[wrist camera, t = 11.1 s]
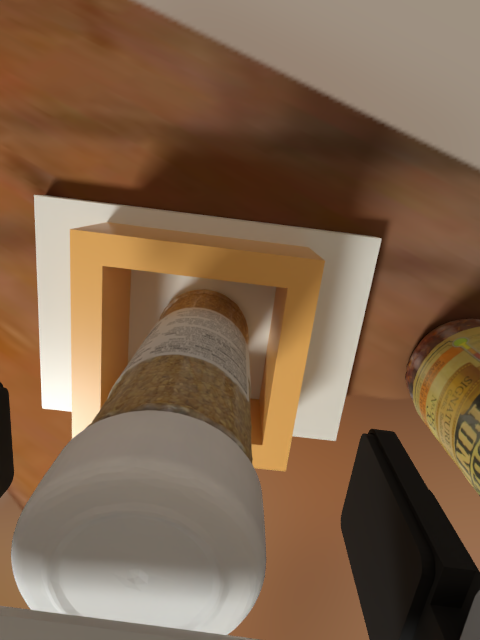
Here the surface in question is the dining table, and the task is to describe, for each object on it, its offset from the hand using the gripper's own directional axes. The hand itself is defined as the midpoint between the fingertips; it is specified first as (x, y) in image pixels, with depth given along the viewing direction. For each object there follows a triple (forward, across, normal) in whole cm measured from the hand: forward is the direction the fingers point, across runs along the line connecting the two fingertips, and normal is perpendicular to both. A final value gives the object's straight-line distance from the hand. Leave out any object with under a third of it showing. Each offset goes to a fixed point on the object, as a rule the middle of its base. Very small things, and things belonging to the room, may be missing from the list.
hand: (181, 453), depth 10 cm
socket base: (+11, +1, 0) cm, 11 cm away
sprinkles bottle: (+10, +1, 0) cm, 10 cm away
